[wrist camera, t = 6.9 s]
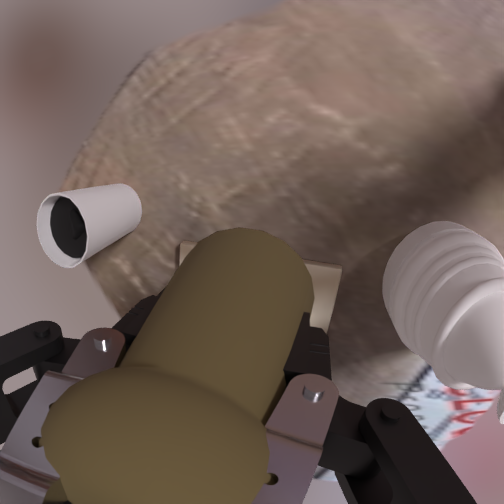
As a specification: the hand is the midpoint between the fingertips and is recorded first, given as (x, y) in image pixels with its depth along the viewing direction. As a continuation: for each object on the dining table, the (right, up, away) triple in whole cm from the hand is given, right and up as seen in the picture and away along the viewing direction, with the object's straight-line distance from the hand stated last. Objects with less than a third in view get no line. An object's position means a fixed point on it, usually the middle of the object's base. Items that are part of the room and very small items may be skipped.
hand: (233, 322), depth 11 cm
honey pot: (+20, 0, +18) cm, 27 cm away
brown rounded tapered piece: (0, +1, +2) cm, 2 cm away
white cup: (-14, +7, +21) cm, 26 cm away
